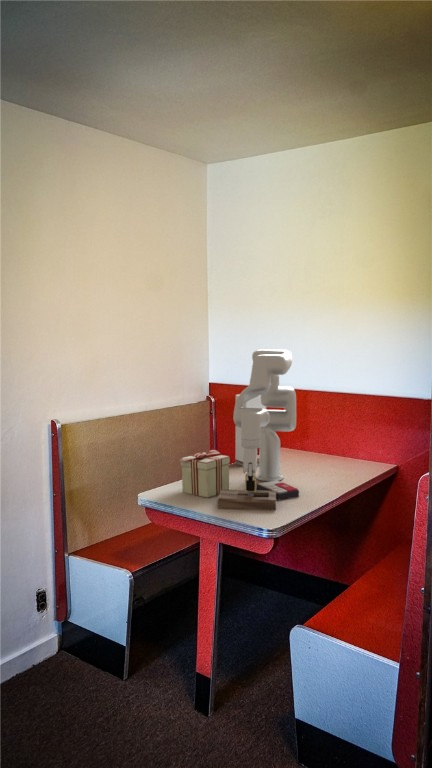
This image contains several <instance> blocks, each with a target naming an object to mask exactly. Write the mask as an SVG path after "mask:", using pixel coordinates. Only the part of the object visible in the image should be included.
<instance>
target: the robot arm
mask: <svg viewBox="0 0 432 768" xmlns="http://www.w3.org/2000/svg"><path fill="white" fill-rule="evenodd" d="M251 358H252V366H251V373H250V379H249V385H248V386H247V387H245V388H244V389H243V390H242V391H241V393H239V394H238V395H239V396H238V398H237V400H236V399H235V404H234V408H233V409H234V410H233V422H234V424H235V426H236V425H237V426H241V447H243V448H244V454H243V466H242V467H243V469H242V472H243V474H247V480H246V490H247V491H254V490H255V481H254V474H256V480H259V481H263V482H270V481H276V480H277V481H282V480H283V479H284V475H283V474H281V439H280V437H279V436H278V434H277V432H293V431H295V429H296V427H297V394H296V391H295V388H293V387H292V386H281V385H280V376H284V375H286V374H287V373H288V372H289V370H290V368H291V366H292V363H293V356H292V352H291V351H289V349H288V350H287V349H257V350H255V351H253V352H252V355H251ZM258 396H260V397H261V403H262V405H263V406H265V407H266V409H262V408H243V406H244V404H245V403H246V402H248V401H249V400H251V399H253V398H256V397H258ZM267 408H282V409H283V410H282V409H267ZM258 450H259V451H258ZM258 453H259V455H258ZM257 458H259V466H257ZM257 467H258V468H259V469H258V473H256V472H257ZM248 474H249V475H248ZM252 474H253V476H252Z"/></svg>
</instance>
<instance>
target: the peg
mask: <svg viewBox="0 0 432 768" xmlns="http://www.w3.org/2000/svg"><path fill="white" fill-rule="evenodd" d="M248 475H249V474H248ZM256 475H257V473H254V481H255V490H254V491H248V496H252V497H253V492H256V490H257V479H256ZM252 476H253V474H252ZM244 477H245V480H244V481H245V489H244V490H245V491H247V490H246V480H247V473H245V475H244Z"/></svg>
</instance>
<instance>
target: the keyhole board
mask: <svg viewBox="0 0 432 768" xmlns="http://www.w3.org/2000/svg"><path fill="white" fill-rule="evenodd" d="M218 495H219V496H218V499H217V508H218V509H219V510H222V509H223V510H246V511H249V510H250V511H251V510H252V511H277V500H276V491H262V490H257V489H256V492H253V497H252V496H248V491H245V489H229V490H222V489H221V492H220V494H218Z"/></svg>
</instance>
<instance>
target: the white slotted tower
mask: <svg viewBox="0 0 432 768" xmlns="http://www.w3.org/2000/svg"><path fill="white" fill-rule="evenodd" d="M239 395H240V394H235V401H236V400H237V398H238V396H239ZM243 408H262V409H266V410H267V407H265V406H263V405H262V403H261V397H260V396H258V397H256V398H253V399H251V400H249V401H248V402H246V403H245V404H244V406H243ZM243 454H244V448H243V447H241V426H237V425H236V424H235V462H234V463H235V464H236V465H239V466H242V467H243ZM257 467H259V457H257Z"/></svg>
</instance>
